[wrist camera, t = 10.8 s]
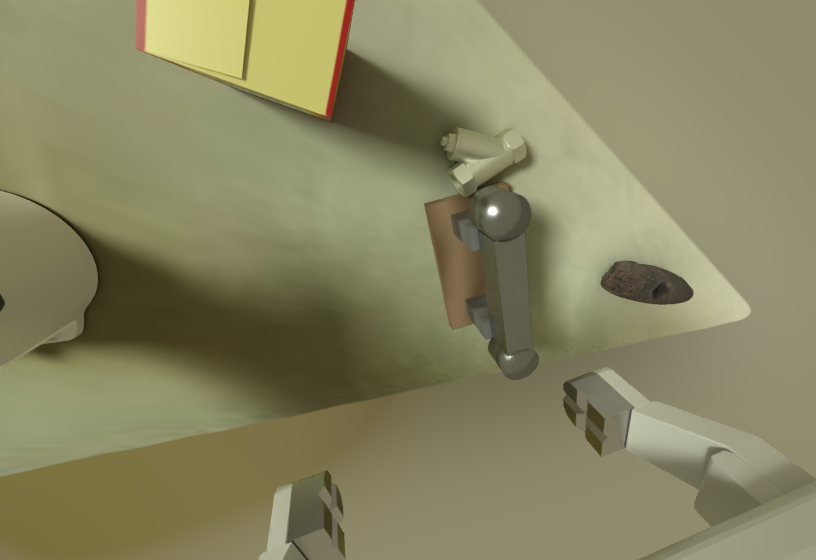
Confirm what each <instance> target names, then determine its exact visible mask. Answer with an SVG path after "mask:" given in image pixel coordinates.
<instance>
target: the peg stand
mask: <svg viewBox="0 0 816 560" xmlns="http://www.w3.org/2000/svg"><path fill="white" fill-rule="evenodd" d="M488 186H496V187H500V188H502V189H505V190H508V191H509V186H508V183H506V182H503V181H502V182H498V183H495V184H491V185H488ZM484 187H487V186H484ZM484 187H481V188H477V191H475V192H474V193H472V194H471V195H469V196H468V197H463V196H462V195H461V194H457V195H453V196H450V197H446V198H443V199H439V200H436V201H432V202H429V203H425V204H424V205H425V210H426V215H427V219H428V224H429V229H430V234H431V239H432V244H433V248H434V253H435V258H436V263H437V268H438V272H439V277H440V282H441V287H442V292H443V296H444V301H445V306H446V311H447V316H448V321H449V325H450V326H451V328H452V330H454V329H457V328H460V327H464V326H467V325H470V324H473V323H474V324H475V326H476V327H477V328H478V330H479V331H480V332H481V334H482V335H483V337H484V338H485V339H486V340H487V339H490V338H492V334H491V326H490V319H489V312H488V305H487V298H486V290H485V283H484V276H483V269H482V262H481V254H480V247H479V240H478V233H477V230H478V228H476V227H475V226H474V225H473V224H472V223H471V222H470V220H469V217H468V206H469V203H470V201H471V199H472V197H473V196H474V194H475V193H476V192H478V191H479V190H480V189H482V188H484Z"/></svg>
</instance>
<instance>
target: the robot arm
mask: <svg viewBox="0 0 816 560" xmlns="http://www.w3.org/2000/svg"><path fill="white" fill-rule="evenodd" d="M97 285H98V273H97V268H96V264H95V261H94V259H93V256H92V254H91V252H90V251H89V249H88V247H87V246H86V244H85V243H84V241H83V240H82V239H81V238H80V237H79V235H78V234H77V233H76V232H75V231H74V230H73V229H72V228H71V227H70V226H68V225H67V224H66V223H65V222H64V221H63V220H61V219H60V218H59V217H57V216H56V215H54V214H53V213H51V212H50V211H48V210H46V209H45V208H43V207H41V206H39V205H37V204H35V203H33V202H31V201H29V200H27V199H24V198H22V197H19V196H16V195H13V194H10V193H7V192H3V191H0V369H2V368H4V367H6V366H8V365H10V364H11V363H13V362H15V361H16V360H18V359H19V358H21V357H22V356H24V355H25V354H27V353H29V352H30V351H32V350H33V349H35V348H36V347H38V346H39V345H41V344H46V343H54V342H62V341H69V340H72V339H74V338H75V337H77V336H79V335H80V334H81V333H82V332H83V328H84V312H85V310H86V308H87V306H88V305H89V303H90V302H91V301H92V299H93V297H94V295H95V293H96V290H97ZM563 390H564V391H565V392H566V393H567V394H566V396H565V397H564V399H563V401H564V408H565V411H566V413H567V415H568V417H569V419H570V420H571V421H572V423H573V424H574V425H575V426H576V427H578V428H580V429H582V430H584V431H585V436H586V439H587V441H588V442H589V443H590V444H591V445H592V446H593V448H594V449H595V450H596V451H597V452H598V454H599V455H600V456H601V457H602V456H604V455H607V454H610V453H613V452H615V451H618V450H621V449H623V448H626V450H628V451H630V452H631V453H633V454H635V455H637V456H639V457H640V458H643V459H644V460H646V461H648V462H650V463H651V464H653V465H655V466H657V467H659V468H661V469H662V470H664V471H666V472H668V473H669V474H671V475H673V476H675V477H677V478H679V479H680V480H682V481H684V482H686V483H688V484H689V485H691V486H693V487H695V488H697V489H699V492H698V494H697V497H696V500H695V503H694V505H695V506H694V508H695V510H696V511H697V512H698V513H699V514H700V515H701V516H702V517H703V518H704V520H705V521H706V522H707V523H708V524H709V525H710V526H711V527H710V528H708V529H706V530H703V531H701V532H699V533H697V534H694V535H692V536H690V537H688V538H686V539H683V540H681V541H679V542H676V543H674V544H672V545H670V546H667V547H665V548H663V549H661V550H659V551H656V552H654V553H652V554H650V555H647V556H645V557H643V558H640V559H638V560H816V479H815V478H814V477H813V476H811V475H810V474H808V473H807V472H806V471H804V470H803V469H802V468H800V467H799V466H797V465H796V464H795V463H793V462H792V461H791V460H789V459H788V458H786V457H785V456H783V455H782V454H781V453H779V452H778V451H777V450H775V449H774V448H772V447H771V446H770V445H768V444H767V443H765V442H764V441H763V440H761V439H760V438H758V437H757V436H755V435H752V434H749V433H747V432H744V431H741V430H738V429H735V428H732V427H729V426H726V425H723V424H721V423H718V422H715V421H712V420H709V419H706V418H704V417H701V416H698V415H695V414H692V413H689V412H686V411H684V410H681V409H678V408H675V407H672V406H669V405H666V404H663V403H661V402H658V401H652V402H650V401H649V400H648V399H647V398H645V397H644V396H643V395H642V394H640V393H639V392H638V391H637V390H636V389H635V388H633V387H632V386H631V385H630V384H629V383H627V382H626V381H625V380H624V379H623V378H621V377H620V376H619V375H618V374H617V373H615V372H614V371H613V370H612V369H611V368H608V367H603V368H601V369H598V370H596V371H593V372H589V373H586V374H584V375H581V376H579V377H576V378H574V379H571V380H569V381H566V382H565V383H564V388H563ZM342 519H343V505H342V499H341V495H340V492H339V489H338V487H337V486H336V484H333V483H331V475H330V474H329V472H328V471H324V472H321V473H318V474H315V475H312V476H310V477H307V478H304V479H301V480H298V481H295V482H292V483H290V484H287V485H284V486H281V487H278V488H277V491H276V493H275V496H274V503H273V510H272V518H271V525H270V532H269V539H268V546H267V551H266V552H264V553H262V554H261V555H260V557H259V559H258V560H345V540H344V532H343V531H342V529H341V527H340V526H339V525H340V523H341V521H342Z"/></svg>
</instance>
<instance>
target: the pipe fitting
mask: <svg viewBox="0 0 816 560" xmlns="http://www.w3.org/2000/svg"><path fill="white" fill-rule="evenodd" d="M440 144H441V145H442V146H443V149H444V151H447V158H448V159H449V160H453V161H458V162H459V163H457V164H455V165H454V166H452V167H451V168H449V169H448V175H449V177H450V180H451V182H452V183H453V185H454V187H455V188H456V190H457V191H458V192H459V193H460V194H461V195H462V196H463V197H468V196H469V195H471V194H472V193H474V192H475V191H477V187H478V186H480V185H481V184H483V183H484V182H486V181H487V180H489V179H490V178H492V177H493V176H495V175H496V174H498V173H499V172H501V171H502V170H503V169H505V168H506V167H508V166H509V165H511V164H516V163H518V162H519V161H521V160H522V159H524V158H525V157H526V145H525V142H524V140H523V138H522V136H521V135H520V134H519V133H518V132H517V131H516V130H515V129H514V128H509V129H506V130H504V131H503V132H501V133H500V134H498V135H497V136H496V137H493V136H489V135H485V134H482V133H478V132H474V131H470V130H466V129H463V128H459V127H456V128H455V129H454V130H453V132H452V134H451V133H448V134H447V135H446V137H442V139H441V143H440Z"/></svg>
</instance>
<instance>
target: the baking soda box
mask: <svg viewBox="0 0 816 560" xmlns="http://www.w3.org/2000/svg"><path fill="white" fill-rule="evenodd" d="M354 3H355V0H137V25H136V49H138V50H140V51H143V52H145V53H148V54H150V55H153V56H155V57H158V58H160V59H163V60H165V61H168V62H170V63H173V64H175V65H178V66H180V67H183V68H185V69H188V70H190V71H193V72H195V73H198V74H200V75H203V76H205V77H208V78H210V79H213V80H215V81H218V82H220V83H223V84H225V85H228V86H230V87H233V88H236V89H239V90H242V91H245V92H248V93H250V94H253V95H256V96H259V97H262V98H265V99H267V100H270V101H273V102H276V103H279V104H282V105H285V106H287V107H290V108H293V109H296V110H299V111H302V112H304V113H307V114H310V115H313V116H316V117H319V118H322V119H324V120H327V121H330V122H331V121H332V116H333V112H334V107H335V102H336V97H337V93H338V88H339V83H340V78H341V74H342V69H343V64H344V59H345V55H346V50H347V44H348V38H349V33H350V27H351V21H352V15H353V9H354Z"/></svg>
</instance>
